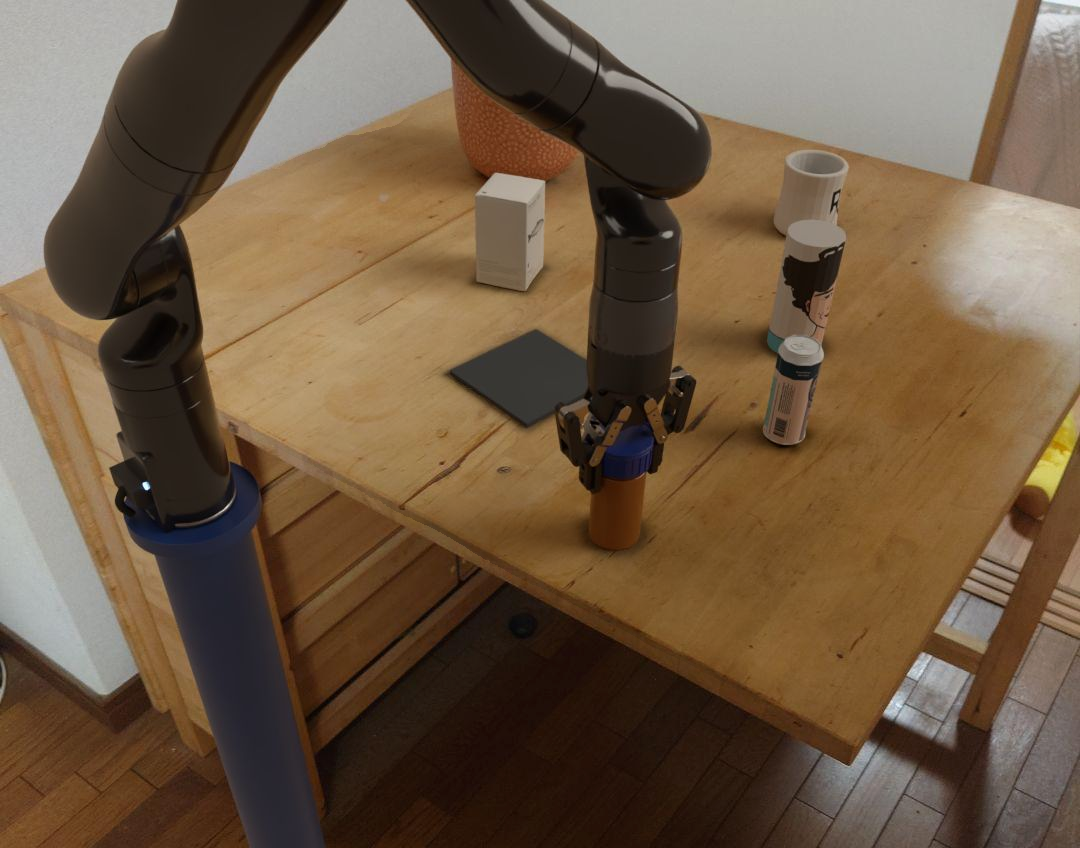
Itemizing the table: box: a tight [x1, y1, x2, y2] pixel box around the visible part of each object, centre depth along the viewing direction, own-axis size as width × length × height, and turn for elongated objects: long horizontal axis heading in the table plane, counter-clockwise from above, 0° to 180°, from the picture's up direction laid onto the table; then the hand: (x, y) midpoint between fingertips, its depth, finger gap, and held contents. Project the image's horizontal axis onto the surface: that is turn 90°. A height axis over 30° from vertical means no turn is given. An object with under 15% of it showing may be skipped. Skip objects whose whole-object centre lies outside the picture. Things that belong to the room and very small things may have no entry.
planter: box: [450, 58, 579, 182], centre depth 163 cm, size 21×21×19 cm
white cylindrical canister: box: [766, 220, 847, 354], centre depth 129 cm, size 7×7×15 cm
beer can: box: [762, 335, 825, 446], centre depth 116 cm, size 5×5×12 cm
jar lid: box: [591, 423, 654, 479], centre depth 101 cm, size 6×6×3 cm
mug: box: [773, 149, 850, 237], centre depth 154 cm, size 12×9×10 cm
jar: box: [588, 471, 648, 551], centre depth 104 cm, size 5×5×12 cm
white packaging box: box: [474, 173, 546, 292], centre depth 141 cm, size 7×7×13 cm
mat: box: [449, 328, 588, 428], centre depth 128 cm, size 14×14×1 cm
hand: (619, 478), depth 103 cm, fingers closed on jar lid, 6 cm apart
